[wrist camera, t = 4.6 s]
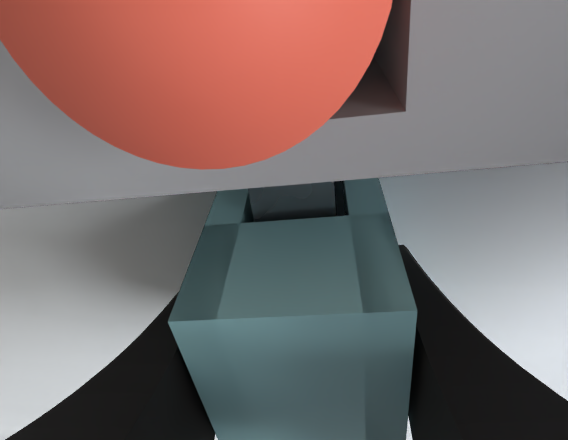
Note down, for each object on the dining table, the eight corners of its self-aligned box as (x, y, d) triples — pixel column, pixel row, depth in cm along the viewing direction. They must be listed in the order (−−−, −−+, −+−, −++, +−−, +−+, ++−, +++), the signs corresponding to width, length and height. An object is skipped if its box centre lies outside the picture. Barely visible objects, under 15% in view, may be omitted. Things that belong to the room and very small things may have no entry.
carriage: (374, 165, 11) (417, 310, 7) (374, 312, 14) (402, 474, 10) (222, 178, 12) (167, 321, 7) (256, 318, 15) (233, 474, 11)
